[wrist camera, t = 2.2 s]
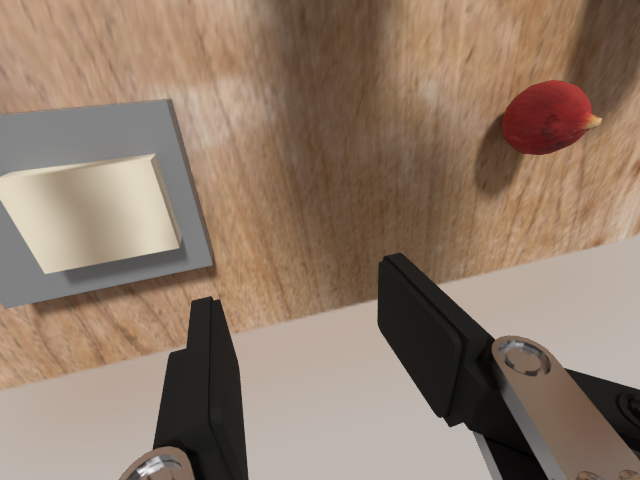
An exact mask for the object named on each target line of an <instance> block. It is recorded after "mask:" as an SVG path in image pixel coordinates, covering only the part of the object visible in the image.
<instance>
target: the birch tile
mask: <svg viewBox="0 0 640 480" xmlns="http://www.w3.org/2000/svg"><path fill="white" fill-rule="evenodd" d="M0 200H1V202H2V203H3V205H4V207H5V208H6V210H7V212H8V213H9V215H10V217H11V218H12V220H13V222H14V223H15V225H16V227H17V228H18V230H19V232H20V233H21V235H22V237H23V238H24V240H25V242H26V243H27V245H28V247H29V248H30V250H31V252H32V253H33V255H34V257H35V258H36V260H37V262H38V263H39V265H40V267H41V268H42V270H43V272H44V273H45V274H48V273H53V272H59V271H64V270H69V269H74V268H79V267H84V266H90V265H95V264H100V263H105V262H110V261H116V260H121V259H126V258H131V257H136V256H141V255H147V254H152V253H157V252H162V251H167V250H172V249H178V248H180V244H181V239H182V233H181V230H180V227H179V224H178V221H177V218H176V214H175V211H174V208H173V205H172V202H171V199H170V196H169V193H168V190H167V186H166V183H165V180H164V177H163V174H162V171H161V168H160V165H159V162H158V158H157V155H156V154H150V155H142V156H134V157H126V158H118V159H111V160H103V161H95V162H87V163H79V164H71V165H63V166H56V167H48V168H40V169H32V170H24V171H16V172H10V173H8V174H5V175H3V176H1V177H0Z"/></svg>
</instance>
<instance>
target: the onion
mask: <svg viewBox="0 0 640 480" xmlns="http://www.w3.org/2000/svg"><path fill="white" fill-rule="evenodd" d="M601 121H602V118H601V117H596V116H594V115H593V111H592V107H591V103H590V100H589V99H588V97H587V96H586V95H585V93H584V92H583V91H582V90H581V89H580V88H579V87H577V86H575V85H573V84H570V83H566V82H562V81H556V80H551V81H546V82H542V83H539V84H535V85H532V86H530V87H529V88H527V89H526V90H524V91H523V92H522V93H520V94H519V95H518V96H516V97H515V98H514V99H513V101H512V102H511V103H510V104H509V106H508V107H507V108H506V111H505V113H504V115H503V121H502V129H503V133H504V138H505V140H506V141H507V142H508V143H509V144H510V145H511V146H512V147H513V148H514V149H515V150H517V151H519V152H521V153H523V154H532V155H544V154H550V153H552V152H555V151H557V150H560V149H562V148H565V147H567V146H569V145H571V144H573V143H575V142H576V141H577V140H578V139H579V138H580V137H581V136H582V135H583V134H584V133H585V132H586V131H588V130H590V129H592V128H595V127H597V126H598V125H600V123H601Z"/></svg>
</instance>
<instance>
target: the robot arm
mask: <svg viewBox="0 0 640 480" xmlns="http://www.w3.org/2000/svg"><path fill="white" fill-rule="evenodd" d="M378 326H379V329H380V331H381V333H382V334H383V336H384V337H385V339H386V340H387V342H388V343H389V345H390V346H391V348H392V349H393V351H394V352H395V354H396V355H397V357H398V358H399V360H400V361H401V363H402V365H403V366H404V368H405V369H406V371H407V372H408V373H409V375H410V376H411V378H412V380H413V381H414V383H415V384H416V386H417V387H418V389H419V390H420V392H421V393H422V395H423V396H424V398H425V399H426V401H427V402H428V404H429V406H430V407H431V409H432V410H433V412H434V413H435V414H436V415H437V416H438V417H439V418H441V417H443V418H444V419H445V421H446V423H447V424H448V426H449V427H452V426H455V425H458V424H460V423H463V422H464V423H465V424H466V426H467V427H468V429H469V430H471V431H473V434H474V436H475V438H476V441H477V443H478V446H479V448H480V450H481V452H482V455H483V458H484V460H485V462H486V465H487V467H488V469H489V472H490V474H491V476H492V479H493V480H640V390H639V389H635V388H632V387H628V386H624V385H621V384H618V383H614V382H611V381H607V380H604V379H600V378H597V377H593V376H590V375H587V374H583V373H580V372H576V371H573V370H569V369H566V368H563V367H562V365H561V364H560V363H559V362H558V361H557V359H556V358H555V357H554V356H553V355H552V354H551V353H550V352H549V351H548V350H547V349H546V348H544V347H543V346H541V345H540V344H538V343H536V342H534V341H532V340H530V339H527V338H523V337H519V336H504V337H500V338H498V339H496V340H495V339H494V338H493V337H492V336H491V335H490V334H489V333H487V332H486V331H485V330H484V329H483V328H482V327H481V326H480V325H479V324H478V323H477V322H476V321H475V320H473V319H472V318H471V317H470V316H469V315H468V314H467V313H466V312H465V311H463V309H462V308H460V307H459V306H458V305H457V304H456V303H455V302H454V301H453V300H452V299H451V298H450V297H449V296H447V295H446V294H445V293H444V292H443V291H442V290H441V289H440V288H439V287H438V286H437V285H436V284H435V283H433V282H432V281H431V280H430V279H429V278H428V277H427V276H426V275H425V274H424V273H423V272H422V271H420V270H419V269H418V268H417V267H416V266H415V265H414V264H413V263H412V262H411V261H410V260H409V259H407V258H406V257H405V256H404V255H403V254H402V253H397V254H392V255H388V256H385V257H384V258H383V261H381V262H379V274H378ZM119 480H248V468H247V456H246V444H245V432H244V419H243V408H242V395H241V383H240V371H239V365H238V360H237V357H236V353H235V350H234V347H233V343H232V339H231V336H230V332H229V329H228V325H227V322H226V319H225V315H224V312H223V308H222V305H221V301H220V300H214V301H213V298H212V297H211V296H210V297H206V298H202V299H197V300H193V301H192V303H191V311H190V320H189V329H188V338H187V347H186V349H182V350H178V351H175V352H171V353H170V355H169V358H168V363H167V369H166V375H165V380H164V386H163V392H162V398H161V404H160V410H159V416H158V421H157V427H156V433H155V439H154V445H153V450H152V451H150V452H148V453H146V454H144V455H143V456H142V457H140V458H139V459H137V460H136V461H135V462H133V464H132V465H131V466H130V467H129V468H128V469H127V470H126V471H125V472H124V473H123V474H122V476H121V477H120V479H119Z"/></svg>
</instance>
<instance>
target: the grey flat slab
mask: <svg viewBox="0 0 640 480" xmlns="http://www.w3.org/2000/svg"><path fill="white" fill-rule="evenodd" d="M150 154H156V155H157V158H158V162H159V165H160V168H161V171H162V174H163V177H164V180H165V183H166V186H167V190H168V193H169V196H170V199H171V202H172V205H173V208H174V211H175V214H176V218H177V221H178V224H179V227H180V230H181V233H182V239H181V244H180V248H178V249H172V250H167V251H162V252H157V253H152V254H147V255H141V256H136V257H131V258H126V259H121V260H116V261H110V262H105V263H100V264H95V265H90V266H84V267H79V268H74V269H69V270H64V271H59V272H53V273H48V274H45V273H44V272H43V270H42V268H41V267H40V265H39V263H38V262H37V260H36V258H35V257H34V255H33V253H32V252H31V250H30V248H29V247H28V245H27V243H26V242H25V240H24V238H23V237H22V235H21V233H20V232H19V230H18V228H17V227H16V225H15V223H14V222H13V220H12V218H11V217H10V215H9V213H8V212H7V210H6V208H5V207H4V205H3V203H2V202H1V200H0V302H1V303H2V305H3V306H4V308H5V309H7V308H11V307H16V306H21V305H26V304H30V303H35V302H40V301H45V300H50V299H54V298H59V297H64V296H69V295H73V294H78V293H83V292H88V291H92V290H97V289H102V288H107V287H112V286H116V285H121V284H126V283H131V282H135V281H140V280H145V279H150V278H154V277H159V276H164V275H169V274H174V273H178V272H183V271H188V270H193V269H197V268H202V267H207V266H212V265H213V249H212V245H211V241H210V238H209V234H208V230H207V227H206V223H205V219H204V216H203V212H202V209H201V205H200V201H199V198H198V194H197V190H196V187H195V183H194V179H193V176H192V172H191V169H190V165H189V161H188V158H187V154H186V150H185V147H184V143H183V139H182V136H181V132H180V129H179V125H178V121H177V118H176V114H175V110H174V107H173V103H172V99H164V100H153V101H142V102H131V103H120V104H109V105H99V106H88V107H77V108H66V109H55V110H44V111H33V112H22V113H11V114H0V177H1V176H3V175H5V174H8V173H10V172H16V171H24V170H32V169H40V168H48V167H56V166H63V165H71V164H79V163H87V162H95V161H103V160H111V159H118V158H126V157H134V156H142V155H150Z"/></svg>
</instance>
